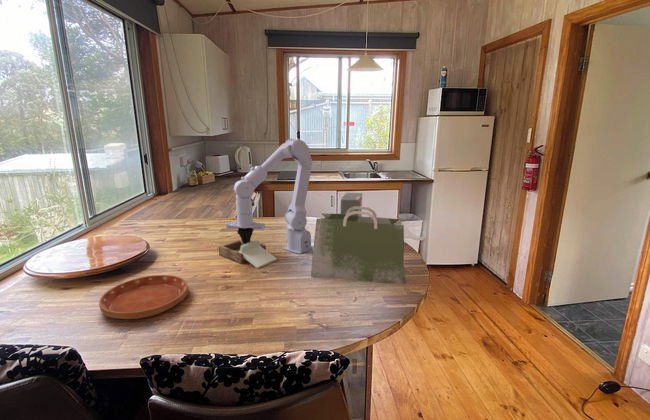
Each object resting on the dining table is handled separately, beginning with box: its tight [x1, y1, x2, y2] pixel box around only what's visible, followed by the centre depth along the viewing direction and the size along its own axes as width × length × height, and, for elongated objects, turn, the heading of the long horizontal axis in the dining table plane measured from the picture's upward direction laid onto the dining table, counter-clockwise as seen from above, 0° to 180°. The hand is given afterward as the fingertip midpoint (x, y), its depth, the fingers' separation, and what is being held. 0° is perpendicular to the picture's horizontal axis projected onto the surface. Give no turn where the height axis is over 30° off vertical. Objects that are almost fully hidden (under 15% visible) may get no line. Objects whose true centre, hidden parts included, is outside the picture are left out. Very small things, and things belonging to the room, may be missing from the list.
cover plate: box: [239, 239, 278, 269], centre depth 127 cm, size 11×9×3 cm
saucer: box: [98, 274, 189, 320], centre depth 100 cm, size 23×23×4 cm
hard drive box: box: [340, 192, 363, 217], centre depth 147 cm, size 16×8×20 cm, turn 168°
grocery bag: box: [310, 206, 407, 284], centre depth 116 cm, size 32×14×23 cm, turn 80°
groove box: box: [218, 238, 267, 265], centre depth 134 cm, size 14×12×4 cm
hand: (247, 246), depth 131 cm, fingers closed
